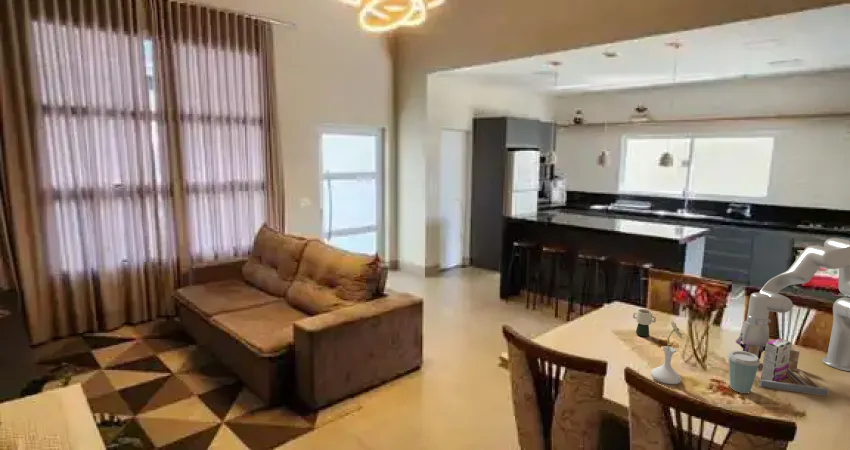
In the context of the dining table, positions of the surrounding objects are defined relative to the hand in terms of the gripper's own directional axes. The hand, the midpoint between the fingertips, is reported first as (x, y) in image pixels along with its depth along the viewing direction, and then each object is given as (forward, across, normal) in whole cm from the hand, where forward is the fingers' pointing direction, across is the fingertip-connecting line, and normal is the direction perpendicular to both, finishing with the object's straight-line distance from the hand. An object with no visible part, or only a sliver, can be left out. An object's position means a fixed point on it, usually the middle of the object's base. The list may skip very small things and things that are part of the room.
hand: (751, 358), depth 209 cm
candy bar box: (+3, -4, +14) cm, 14 cm away
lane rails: (+2, -6, +13) cm, 15 cm away
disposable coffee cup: (+2, +15, +30) cm, 33 cm away
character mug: (+2, +42, -19) cm, 46 cm away
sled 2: (+2, -15, +11) cm, 19 cm away
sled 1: (+2, -4, +10) cm, 11 cm away
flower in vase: (+2, +42, +30) cm, 52 cm away
